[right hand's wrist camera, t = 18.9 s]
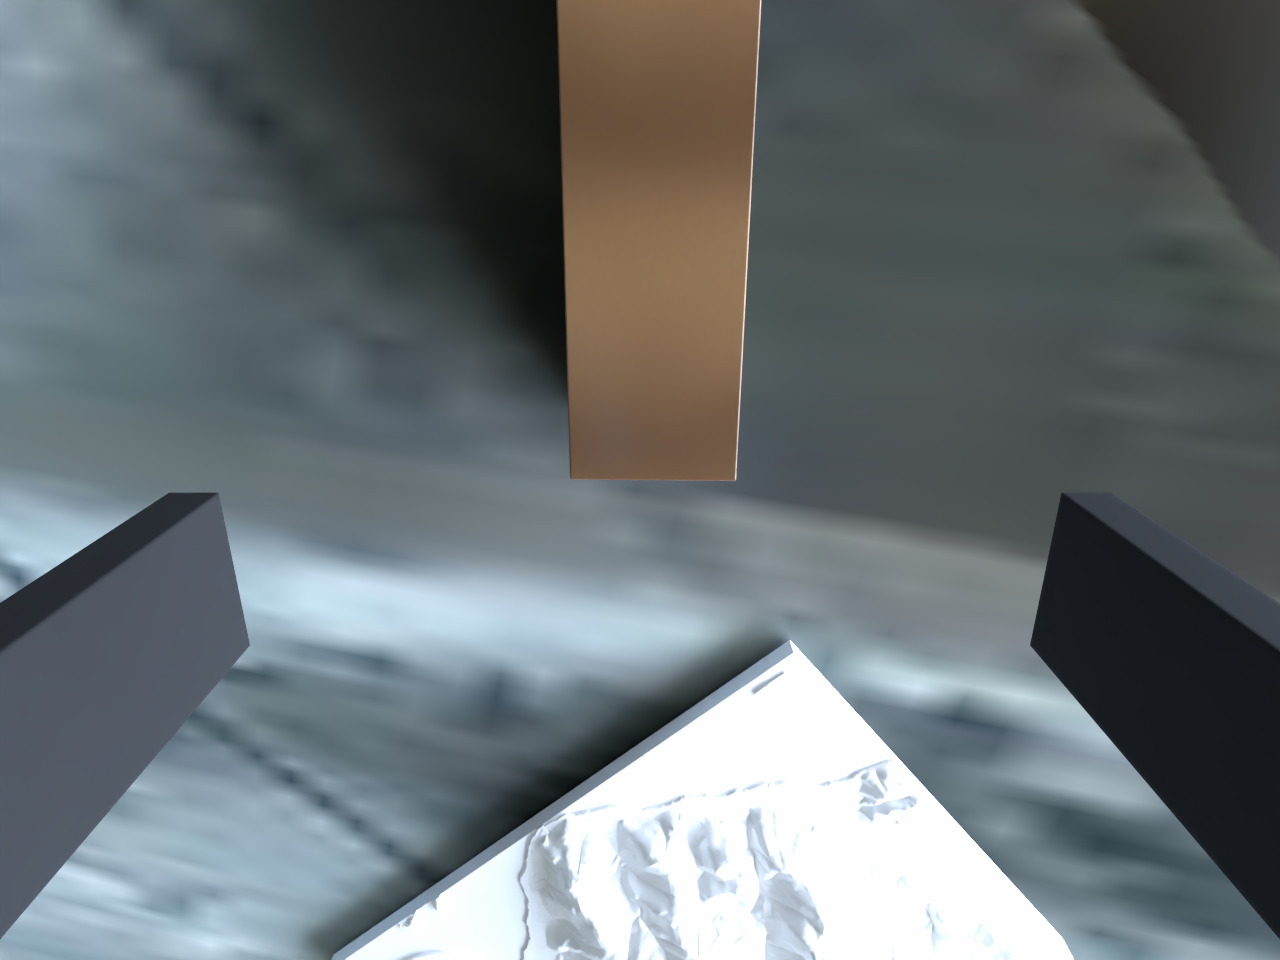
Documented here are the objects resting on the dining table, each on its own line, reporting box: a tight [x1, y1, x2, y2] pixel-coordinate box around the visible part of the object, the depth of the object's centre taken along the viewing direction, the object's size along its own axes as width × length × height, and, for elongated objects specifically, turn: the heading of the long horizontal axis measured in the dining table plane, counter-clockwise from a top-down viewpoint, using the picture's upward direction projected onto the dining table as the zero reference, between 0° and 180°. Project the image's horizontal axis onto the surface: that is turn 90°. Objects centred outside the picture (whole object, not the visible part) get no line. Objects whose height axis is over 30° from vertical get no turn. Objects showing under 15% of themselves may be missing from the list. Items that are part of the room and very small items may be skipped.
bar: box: [556, 0, 761, 481], centre depth 27 cm, size 24×6×9 cm, turn 0°
